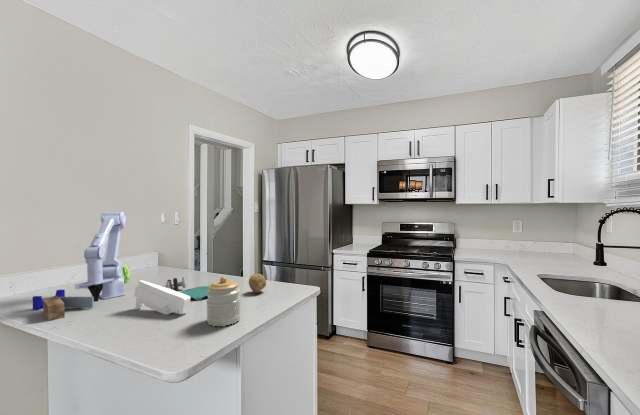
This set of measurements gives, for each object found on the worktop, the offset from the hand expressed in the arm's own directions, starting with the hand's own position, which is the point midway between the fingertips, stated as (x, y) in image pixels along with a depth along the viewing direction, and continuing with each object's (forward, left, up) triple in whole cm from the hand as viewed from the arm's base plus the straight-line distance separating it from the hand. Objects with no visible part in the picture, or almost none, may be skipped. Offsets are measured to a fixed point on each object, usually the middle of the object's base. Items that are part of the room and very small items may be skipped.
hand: (95, 301), depth 141 cm
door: (+7, -2, -1) cm, 7 cm away
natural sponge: (-61, +43, -2) cm, 75 cm away
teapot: (-18, -41, -2) cm, 44 cm away
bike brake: (-32, 0, -2) cm, 32 cm away
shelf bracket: (-17, +34, -3) cm, 38 cm away
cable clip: (+15, -18, -2) cm, 24 cm away
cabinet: (+15, 0, -2) cm, 15 cm away
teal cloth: (-45, +22, -3) cm, 50 cm away
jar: (-29, +64, -2) cm, 71 cm away
